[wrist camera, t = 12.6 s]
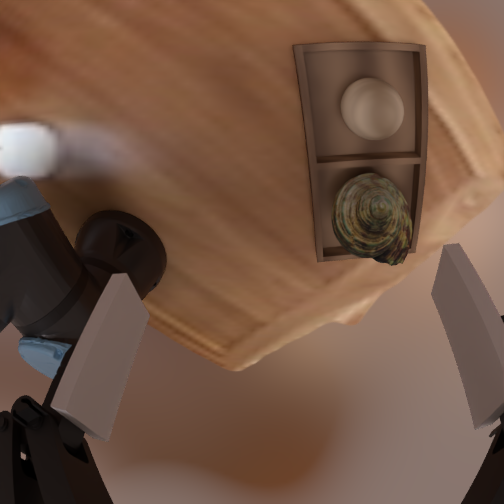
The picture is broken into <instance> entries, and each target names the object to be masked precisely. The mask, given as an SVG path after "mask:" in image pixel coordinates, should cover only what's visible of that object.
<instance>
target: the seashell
mask: <svg viewBox="0 0 504 504" xmlns="http://www.w3.org/2000/svg"><path fill="white" fill-rule="evenodd" d="M331 220H332V227H333V231H334V234H335V236H336V238H337V240H338V241H339V243H340V244H341V245H342V247H343V248H344V249H345V250H346V251H348V252H349V253H351V254H353V255H355V256H357V257H362V258H373V259H374V260H376V261H378V262H380V263H388V264H389V265H391V266H392V265H397V264H398V263H403V262H404V260H405V257H406V256H407V254H408V250H409V247H410V243H411V237H412V221H411V215H410V210H409V207H408V204H407V202H406V200H405V199H404V197H403V195H402V193H401V191H400V189H399V188H398V187H397V186H396V185H394V184H393V183H392V182H391V181H389V180H388V179H386V178H381V177H380V176H379V175H378V174H376V173H367V174H361V175H359V176H356V177H354V178H352V179H350V180H348V181H347V182H346V183H345V184H344V185H343V186H342V187H341V188H340V189H339V190H338V192H337V194H336V196H335V198H334V201H333V205H332V214H331Z"/></svg>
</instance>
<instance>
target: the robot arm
mask: <svg viewBox="0 0 504 504" xmlns="http://www.w3.org/2000/svg"><path fill="white" fill-rule="evenodd" d="M50 207H51V206H50V204H49V203H48V202H46V201H45V199H44V198H43V196H42V194H41V193H40V191H39V189H38V188H37V186H36V184H35V183H34V181H33V180H32V179H30V178H29V177H26V176H17V177H15V178H12V179H10V180H8V181H6V182H4V183H2V184H1V185H0V332H1V331H2V330H3V329H4V328H5V327H6V326H7V325H8V324H9V323H10V322H11V323H12V324H13V325H14V326H15V327H16V328H17V329H18V330H19V331H20V333H21V334H22V335H23V337H22V338H21V339H20V340H19V346H18V351H19V353H20V354H21V357H22V358H23V359H24V360H25V361H26V362H27V363H28V364H29V365H31V366H32V367H33V368H35V369H36V370H38V371H39V372H41V373H42V374H44V375H46V376H48V377H50V378H52V379H53V381H52V383H51V386H50V388H49V391H48V393H47V395H46V398H45V400H44V403H43V404H42V406H41V405H39V404H38V403H37V402H36V401H34V399H32V398H31V397H30V396H27V395H24V396H21V397H19V398H18V399H17V400H16V401H15V403H14V404H13V406H12V409H11V413H10V412H8V411H2V412H0V504H113V502H112V500H111V498H110V496H109V493H108V491H107V489H106V487H105V485H104V482H103V481H102V478H101V475H100V473H99V471H98V468H97V466H96V464H95V461H94V459H93V456H92V454H91V451H90V448H89V446H88V443H87V441H86V440H85V438H84V433H87V434H88V435H89V436H91V437H92V438H95V439H99V440H102V441H106V442H108V441H109V437H110V434H111V431H112V427H113V424H114V421H115V417H116V414H117V411H118V407H119V404H120V401H121V398H122V395H123V391H124V388H125V385H126V382H127V379H128V376H129V373H130V370H131V367H132V364H133V361H134V359H135V355H136V353H137V350H138V347H139V344H140V341H141V339H142V336H143V333H144V330H145V327H146V325H147V322H148V319H149V317H150V315H149V313H148V311H147V310H146V308H145V306H144V304H143V302H142V300H143V299H144V298H145V297H146V296H147V294H148V293H149V292H150V291H151V290H153V289H154V288H155V287H156V286H157V285H158V283H159V282H160V280H161V277H162V275H163V273H164V270H165V267H166V254H165V250H164V247H163V245H162V243H161V241H160V239H159V238H158V236H157V235H156V234H155V233H154V231H153V230H152V229H151V228H150V227H149V226H147V225H146V224H145V223H144V222H142V221H141V220H139V219H138V218H136V217H134V216H132V215H130V214H127V213H124V212H120V211H110V210H109V211H102V212H98V213H96V214H94V215H92V216H91V217H90V218H89V219H88V220H87V221H86V222H85V223H84V225H83V226H82V227H81V228H80V230H79V232H78V234H77V237H76V241H75V247H74V249H73V247H72V245H71V244H70V242H69V240H68V239H67V237H66V236H65V234H64V232H63V231H62V229H61V227H60V225H59V224H58V222H57V220H56V219H55V217H54V215H53V213H52V211H51V210H50ZM431 295H432V298H433V300H434V303H435V305H436V308H437V310H438V312H439V315H440V318H441V320H442V323H443V325H444V328H445V331H446V334H447V337H448V339H449V342H450V345H451V347H452V351H453V354H454V357H455V360H456V363H457V366H458V369H459V372H460V376H461V379H462V382H463V386H464V389H465V393H466V396H467V400H468V404H469V407H470V411H471V415H472V420H473V424H474V428H475V430H476V429H479V428H483V427H485V426H488V425H491V424H493V423H494V422H495V421H496V420H497V419H498V418H499V417H500V421H501V424H500V425H499V426H498V427H497V428H495V429H494V430H493V431H492V432H491V434H490V435H489V437H492V436H493V435H494V434H495V437H494V439H493V442H492V444H491V446H490V449H489V451H488V453H487V455H486V457H485V459H484V462H483V464H482V466H481V468H480V470H479V472H478V474H477V476H476V478H475V479H474V481H473V483H472V485H471V487H470V489H469V490H468V492H467V494H466V496H465V498H464V499H463V501H462V503H461V504H504V315H503V316H500V315H499V313H498V311H497V309H496V307H495V305H494V303H493V301H492V299H491V297H490V295H489V293H488V291H487V290H486V288H485V286H484V284H483V282H482V281H481V279H480V277H479V275H478V274H477V272H476V270H475V268H474V267H473V265H472V263H471V262H470V260H469V258H468V257H467V255H466V253H465V252H464V250H463V249H462V247H461V245H460V244H459V243H457V244H447V245H443V250H442V254H441V258H440V263H439V267H438V270H437V274H436V278H435V282H434V285H433V289H432V293H431ZM21 452H22V453H24V454H26V459H25V460H23V459H22V458H21Z"/></svg>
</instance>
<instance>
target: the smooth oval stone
mask: <svg viewBox="0 0 504 504" xmlns="http://www.w3.org/2000/svg"><path fill="white" fill-rule="evenodd" d="M341 114H342V117H343V119H344V122H345V123H346V125H347V126H348V128H349V129H350V130H351V131H352V132H354V133H355V134H356V135H358V136H360V137H362V138H364V139H368V140H382V139H385V138H388V137H390V136H391V135H393V134H394V133H395V132H396V131H397V130H398V129H399V127H400V126H401V124H402V121H403V117H404V106H403V102H402V99H401V97H400V95H399V94H398V92H397V91H396V90H395V89H394V88H393V87H392V86H391V85H390V84H388V83H387V82H385V81H383V80H380V79H376V78H363V79H359V80H357V81H355V82H353V83H352V84H350V85H349V86H348V87H347V89H346V90H345V92H344V93H343V96H342V99H341Z"/></svg>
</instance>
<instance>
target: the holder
mask: <svg viewBox="0 0 504 504" xmlns="http://www.w3.org/2000/svg"><path fill="white" fill-rule="evenodd" d="M292 46H293V52H294V58H295V64H296V71H297V77H298V84H299V91H300V98H301V105H302V113H303V121H304V129H305V137H306V145H307V154H308V164H309V173H310V183H311V194H312V206H313V218H314V231H315V245H316V255H317V262H325V261H336V260H347V259H357V258H362V257H357V256H355V255H353V254H351V253H349V252H348V251H346V250H345V249H344V248H343V247H342V245H341V244H340V243H339V241H338V240H337V238H336V236H335V234H334V231H333V227H332V220H331V214H332V205H333V201H334V198H335V196H336V194H337V192H338V190H339V189H340V188H341V187H342V186H343V185H344V184H345V183H346V182H347V181H348V180H350V179H352V178H354V177H356V176H359V175H361V174H367V173H376V174H378V175H379V176H380V177H381V178H386V179H388V180H389V181H391V182H392V183H393V184H394V185H396V186H397V187H398V188H399V189H400V191H401V193H402V195H403V197H404V199H405V200H406V202H407V204H408V207H409V210H410V215H411V221H412V237H411V243H410V247H409V250H408V253H415V252H416V246H417V240H418V234H419V227H420V220H421V212H422V204H423V195H424V185H425V173H426V160H427V140H428V77H427V58H426V45H420V44H409V43H391V42H333V43H315V44H302V45H292ZM363 78H376V79H380V80H383V81H385V82H387V83H388V84H390V85H391V86H392V87H393V88H394V89H395V90H396V91H397V92H398V94H399V95H400V97H401V99H402V102H403V106H404V117H403V121H402V124H401V126H400V127H399V129H398V130H397V131H396V132H395V133H394V134H393V135H391V136H390V137H388V138H385V139H382V140H368V139H364V138H362V137H360V136H358V135H356V134H355V133H354V132H352V131H351V130H350V129H349V128H348V126H347V125H346V123H345V122H344V119H343V117H342V114H341V99H342V96H343V93H344V92H345V90H346V89H347V87H348V86H349V85H350V84H352V83H353V82H355V81H357V80H359V79H363Z"/></svg>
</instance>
